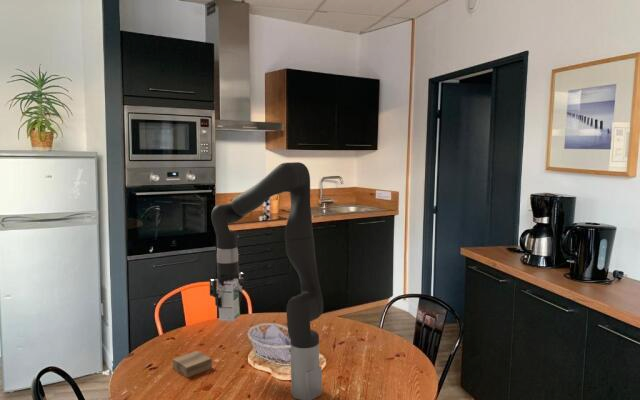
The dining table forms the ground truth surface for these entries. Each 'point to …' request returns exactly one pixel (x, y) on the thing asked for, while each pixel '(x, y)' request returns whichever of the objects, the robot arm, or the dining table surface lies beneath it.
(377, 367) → the dining table surface
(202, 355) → the walnut base block
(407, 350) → the dining table surface
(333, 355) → the dining table surface
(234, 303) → the syrup box
